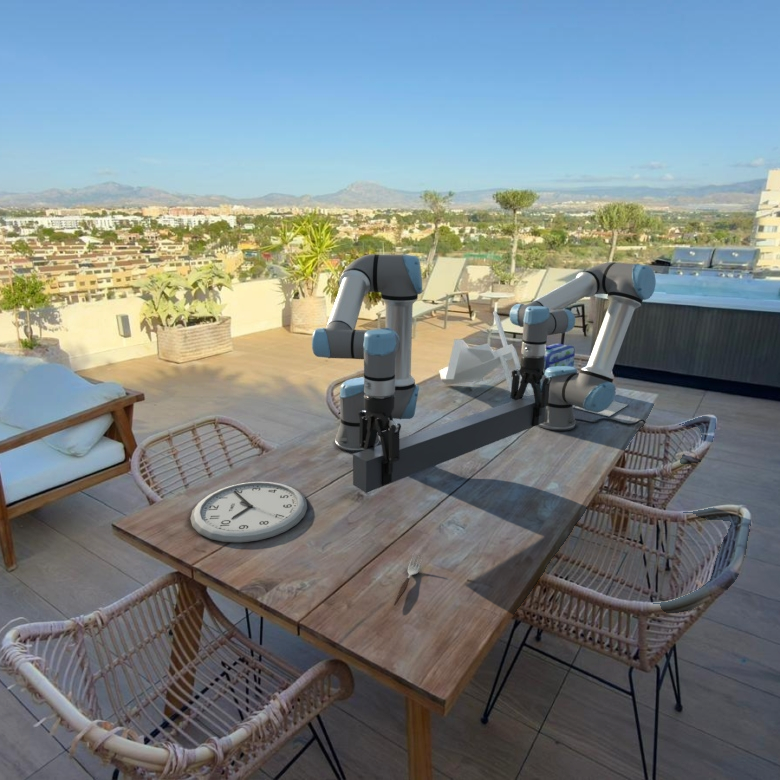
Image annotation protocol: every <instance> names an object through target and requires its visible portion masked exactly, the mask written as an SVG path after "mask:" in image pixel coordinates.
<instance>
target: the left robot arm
mask: <svg viewBox="0 0 780 780" xmlns="http://www.w3.org/2000/svg"><path fill="white" fill-rule="evenodd" d="M338 287H339V290H338V293H337V295H336V298H335V301H334V304H333V306H332V309H331V312H330V314H329V318H328V320H327V322H326V326H325V327H321V328H316V329H314V331H313V332H312V337H311V349H312V353H313V355H314V356H315V357H318V358H326V359H345V360H347V359H349V360H363V376H361V377H354V378H349V379H347V380H345V381H343V382H342V383H341V384H340V388H339V389H340V390H339V393H340V394H339V407H340V408H339V411H338V415H339V416H340V417H339V418H340V423H339V427H338V429H337V433H336V435H335V441H334V442H335V446H336V447H337V448H338V449H339V450H342V451H345V452H350V453H358V452H361V451H364V450H367V449H370V448H373V447H376V446H379V445H382V451H383V457H384V461H382V485H383V486H382V487H385V486H387V484H388V485H390V484H392V473H393V462H396V461H398V460H399V459H400V446H399V439H400V432H401V429H402V424H401V423H399V422H398V423H396V422H395V421H394V419H395V420H411V419H412V418H413V417H415V414H416V408H417V402H418V396H419V390H420V386H419V385H418V384H416V380H415V378H414V377H413V376H412V339H413V309H414V306H413V305H414V303H416V302H417V300H418V297H419V296H418V295H420V294H421V295H422V293H423V275H422V266H421V262H420V259H419V257H418V256H416V255H411V254H376V253H370V254H366V255H363V256H360V257H358V258H356V259H355V260H353V261H352V262H350V263H349V264H348V265H347V266H346V267H345V268H344V270H343V271H342V273H341V275H340V277H339V280H338ZM369 293H380V299H381V300H382V301H383V303H385V327H381V328H373V329H356V327H357V322H358V320H359V316H360V313H361V308H362V306H363V301H364V298H365V297H366V296H367V295H368V294H369Z"/></svg>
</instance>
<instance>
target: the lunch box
mask: <svg viewBox="0 0 780 780" xmlns="http://www.w3.org/2000/svg"><path fill="white" fill-rule="evenodd" d="M575 352H576V351H575V346H573V345H568V344H562V343H553V344H550V345H546V353H545V355H544V357H545V363H544V369H543V372H544V375H545V370H546V369H547V368H549V367H555V366H570V367H574V363H575ZM540 382H541V386H540V388H541V391H542V384H543V382H542V379H541V380H540ZM530 387H531V388H532V385H531V384H530Z"/></svg>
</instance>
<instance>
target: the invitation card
mask: <svg viewBox="0 0 780 780" xmlns="http://www.w3.org/2000/svg"><path fill="white" fill-rule="evenodd" d="M628 406H629V404H627V403H623V402H618V401H614V400H613V401H612V403H611V404H610V406H609V407H608V408H607V409H605V410H604V411H601V412H593V411H588V410H585V409H583V408H580V407H577V406H574V407H573V409H575V410H581V411H584V412H587V413H593V414H596V415H600V416H604V417H607V418H610V417H611V416H613V415H614V414H616V413H617V412H619V411H621V410H623V409H624V408H626V407H628Z"/></svg>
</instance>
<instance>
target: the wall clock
mask: <svg viewBox="0 0 780 780" xmlns="http://www.w3.org/2000/svg"><path fill="white" fill-rule="evenodd" d="M307 503H308V502H307V499H306V498H305V496H304V495H303V493H301V492H300V491H298V490H297V489H295V488H294V487H291V486H289V485H286V484H283V483H280V482H279V483H278V482H272V481H249V482H248V481H247V482H242V483H238V484H232V485H229V486H226V487H223V488H220V489H218V490H216V491H213V492H211V493H210V494H208V495H207V496H205V497H204V498H202V499H201V500H200V501H199V502H198V503H197V504H196V505H195V507H194V508H193V509H192V511H191V515H190V523H191V526H192V528H193V529H194V531H196V532H197V533H198V534H199V535H201V536H203V537H205V538H208V539H210V540H214V541H218V542H222V543H239V544H240V543H249V542H256V541H262V540H265V539H269V538H274V537H276V536H278V535H280V534H282V533H286V532H287V531H289V530H290V529H292V528H293V527H295V526H296V525H298V524H299V523H300V522H301V521H302V519H303V518H304V517H305V516H306V513H307V510H308V504H307Z"/></svg>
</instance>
